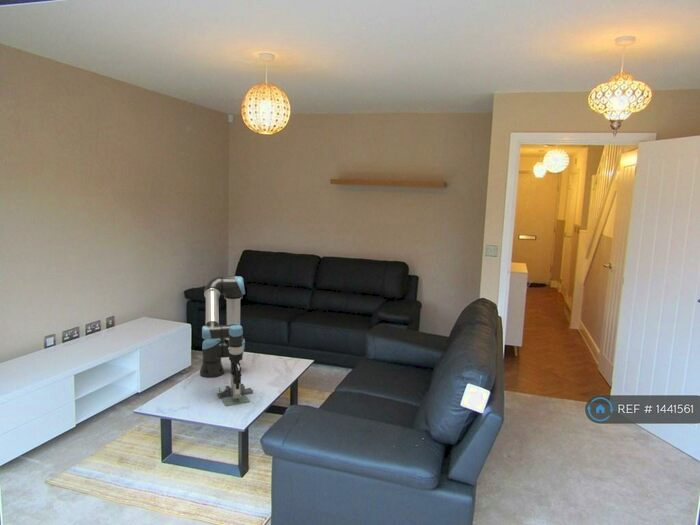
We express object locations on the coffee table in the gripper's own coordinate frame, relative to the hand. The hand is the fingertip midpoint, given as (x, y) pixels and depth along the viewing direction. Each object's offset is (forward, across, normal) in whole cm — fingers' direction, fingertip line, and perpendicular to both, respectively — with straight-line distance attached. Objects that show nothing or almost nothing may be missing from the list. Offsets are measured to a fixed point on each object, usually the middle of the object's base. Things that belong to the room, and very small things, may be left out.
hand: (235, 392), depth 280 cm
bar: (+3, 0, 0) cm, 3 cm away
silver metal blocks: (+5, -9, +2) cm, 11 cm away
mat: (+5, 0, 0) cm, 5 cm away
